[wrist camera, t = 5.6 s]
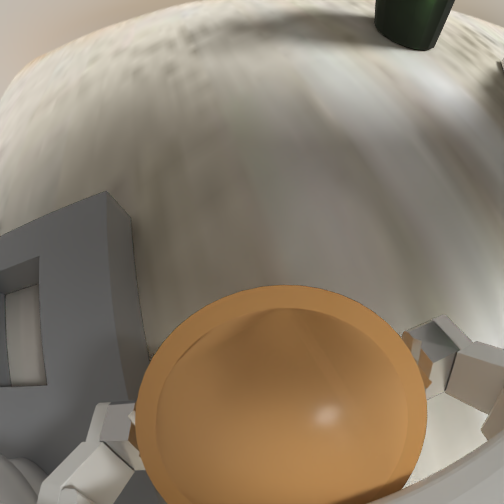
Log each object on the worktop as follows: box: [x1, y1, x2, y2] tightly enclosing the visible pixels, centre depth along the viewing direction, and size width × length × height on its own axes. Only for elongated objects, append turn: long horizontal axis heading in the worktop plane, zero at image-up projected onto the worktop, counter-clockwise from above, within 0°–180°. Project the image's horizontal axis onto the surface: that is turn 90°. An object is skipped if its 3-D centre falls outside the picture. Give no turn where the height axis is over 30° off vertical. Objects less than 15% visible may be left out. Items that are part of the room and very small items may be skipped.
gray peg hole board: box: [0, 191, 167, 504], centre depth 10 cm, size 18×15×6 cm
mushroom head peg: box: [135, 285, 427, 504], centre depth 9 cm, size 5×5×9 cm
